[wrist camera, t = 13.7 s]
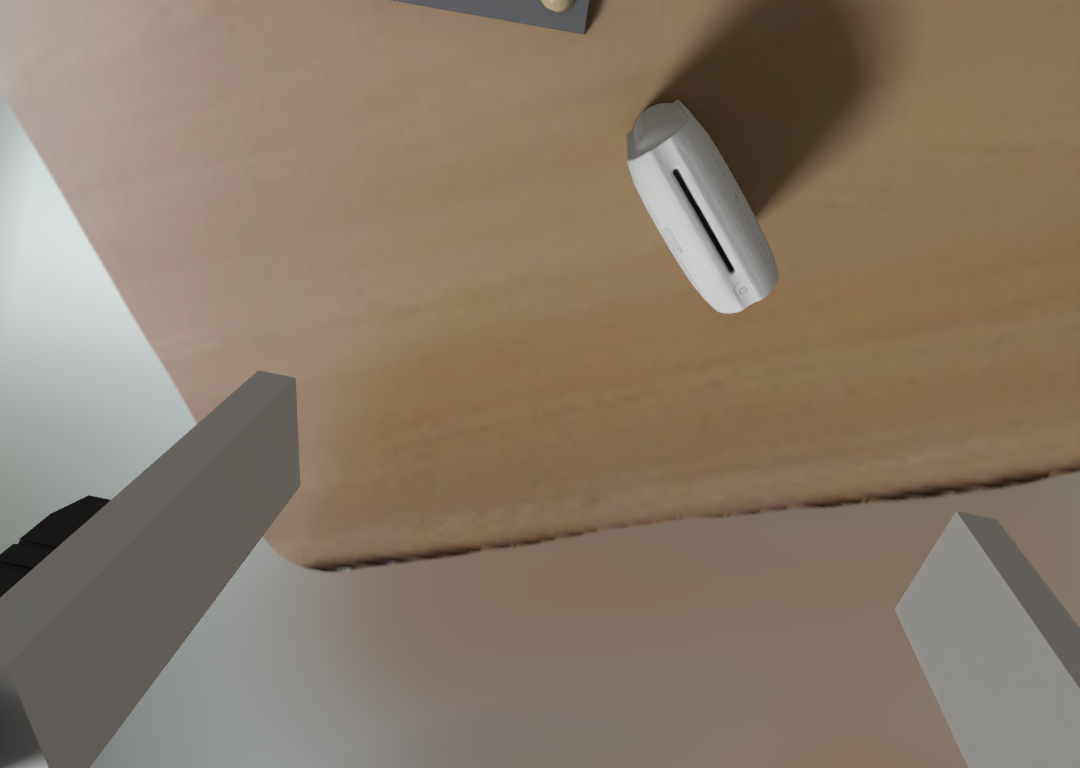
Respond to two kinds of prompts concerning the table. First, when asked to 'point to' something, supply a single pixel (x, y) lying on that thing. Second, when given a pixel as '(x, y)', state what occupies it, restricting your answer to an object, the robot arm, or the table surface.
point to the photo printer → (699, 208)
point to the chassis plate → (522, 11)
